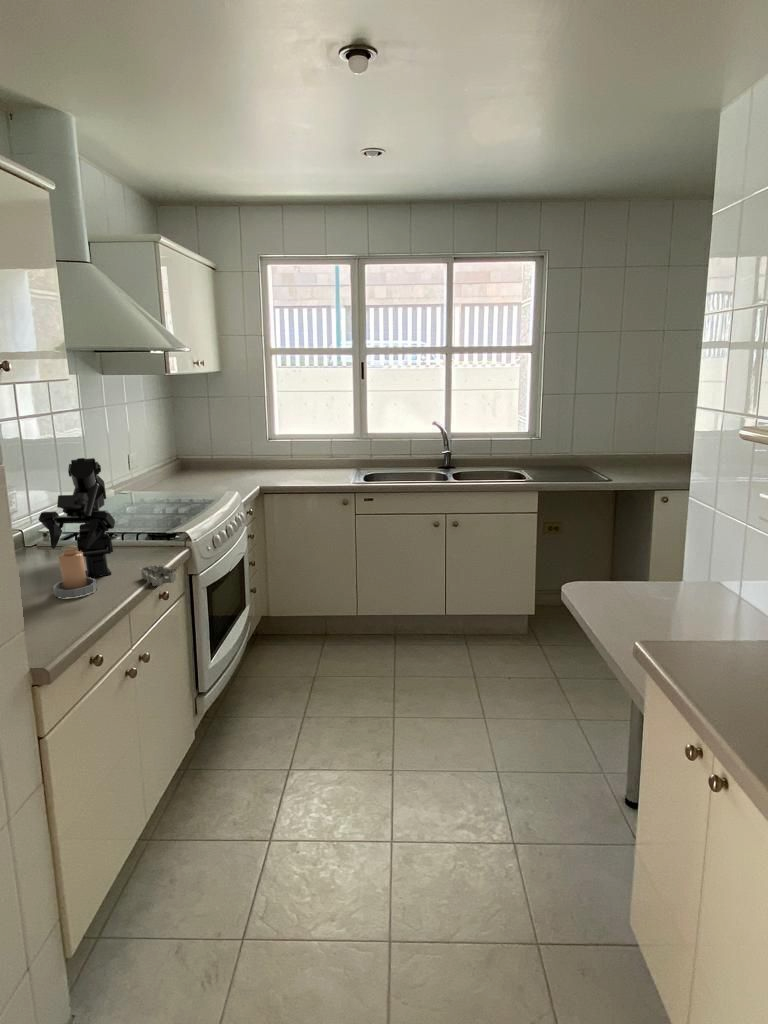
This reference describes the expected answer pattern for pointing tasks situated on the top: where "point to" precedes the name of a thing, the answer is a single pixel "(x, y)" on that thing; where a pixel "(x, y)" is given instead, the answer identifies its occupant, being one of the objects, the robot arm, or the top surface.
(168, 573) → the egg carton
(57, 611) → the top surface
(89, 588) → the slate bowl
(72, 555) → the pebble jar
